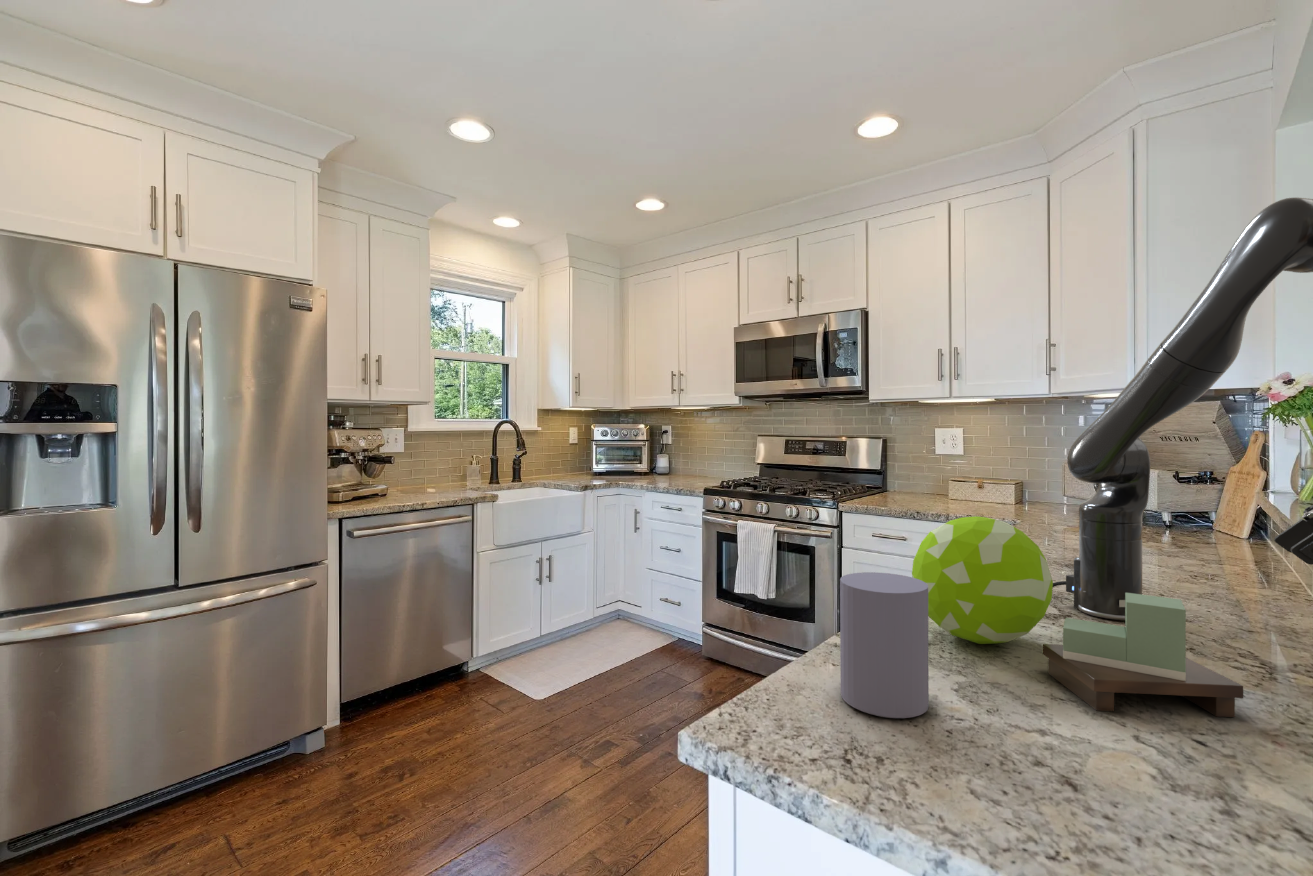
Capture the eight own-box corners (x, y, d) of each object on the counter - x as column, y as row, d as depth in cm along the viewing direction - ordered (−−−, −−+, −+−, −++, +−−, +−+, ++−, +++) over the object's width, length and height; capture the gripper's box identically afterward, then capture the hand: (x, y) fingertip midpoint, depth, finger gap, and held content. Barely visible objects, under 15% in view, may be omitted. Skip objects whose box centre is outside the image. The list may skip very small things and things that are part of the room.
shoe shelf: (1094, 712, 71) (1094, 679, 71) (1042, 672, 83) (1042, 643, 82) (1243, 719, 69) (1243, 685, 69) (1168, 677, 80) (1168, 648, 80)
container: (887, 728, 67) (887, 597, 67) (823, 693, 76) (822, 578, 76) (947, 708, 72) (947, 586, 72) (880, 677, 81) (879, 569, 81)
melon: (1074, 635, 97) (1074, 514, 97) (1025, 678, 80) (1025, 532, 80) (948, 609, 112) (948, 504, 112) (885, 640, 95) (885, 517, 95)
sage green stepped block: (1180, 666, 74) (1181, 599, 74) (1185, 681, 70) (1185, 610, 70) (1065, 645, 82) (1065, 584, 81) (1063, 658, 77) (1063, 593, 77)
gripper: (1379, 426, 68) (1245, 521, 74) (1432, 422, 56) (1268, 535, 63) (1457, 472, 64) (1309, 567, 71) (1529, 478, 53) (1345, 591, 60)
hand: (1290, 552), depth 67 cm, fingers open, 8 cm apart
